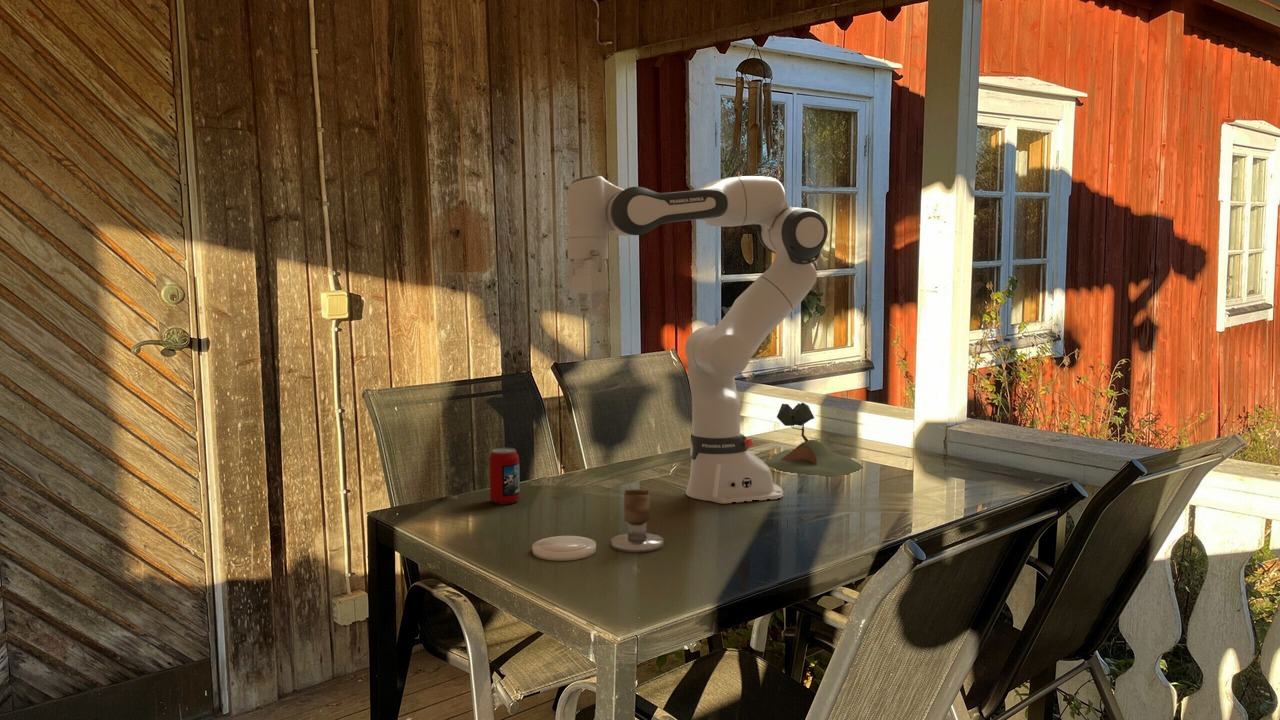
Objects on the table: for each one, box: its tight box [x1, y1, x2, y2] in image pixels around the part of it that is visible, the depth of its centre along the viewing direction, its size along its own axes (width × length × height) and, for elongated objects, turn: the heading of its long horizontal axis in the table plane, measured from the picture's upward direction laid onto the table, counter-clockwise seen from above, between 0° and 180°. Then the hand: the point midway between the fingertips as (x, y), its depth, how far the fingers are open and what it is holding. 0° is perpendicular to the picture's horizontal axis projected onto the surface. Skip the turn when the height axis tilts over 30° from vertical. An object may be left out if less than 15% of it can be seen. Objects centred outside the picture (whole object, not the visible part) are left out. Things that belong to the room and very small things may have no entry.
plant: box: [764, 402, 864, 477], centre depth 254 cm, size 29×35×18 cm
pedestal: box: [610, 522, 664, 554], centre depth 183 cm, size 10×10×5 cm
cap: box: [623, 488, 650, 523], centre depth 182 cm, size 5×5×6 cm
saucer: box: [532, 535, 597, 562], centre depth 180 cm, size 12×12×1 cm
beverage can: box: [488, 447, 521, 505], centre depth 218 cm, size 7×7×12 cm
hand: (589, 314), depth 209 cm, fingers open, 8 cm apart
